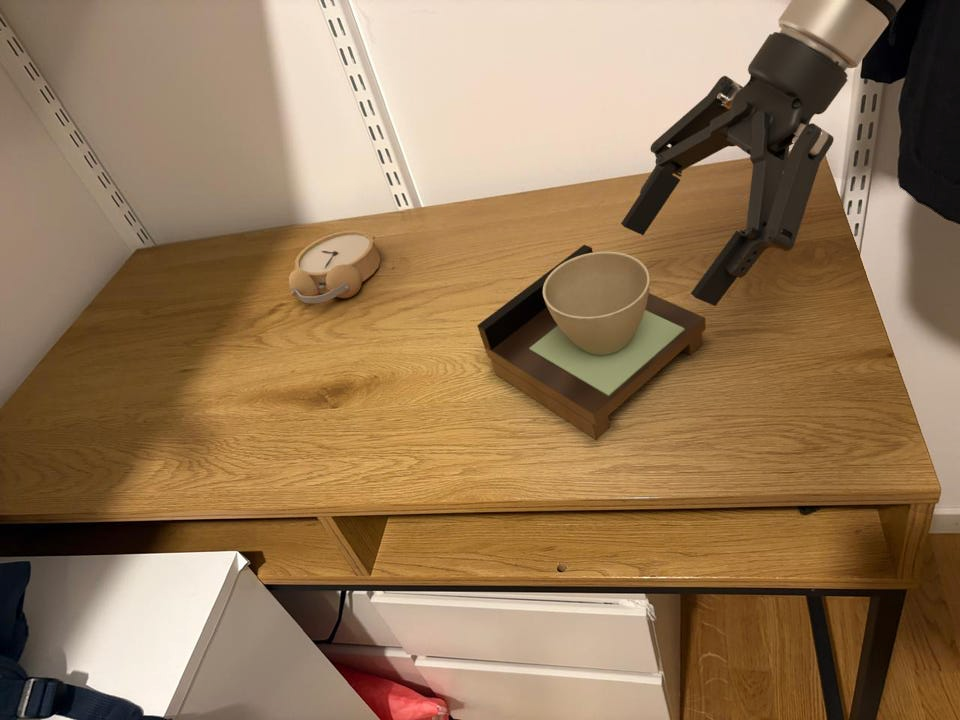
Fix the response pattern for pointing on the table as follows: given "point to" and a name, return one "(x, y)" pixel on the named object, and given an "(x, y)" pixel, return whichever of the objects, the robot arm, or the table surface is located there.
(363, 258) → the alarm clock
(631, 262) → the flower pot
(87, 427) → the table surface
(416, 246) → the table surface
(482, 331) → the tray
